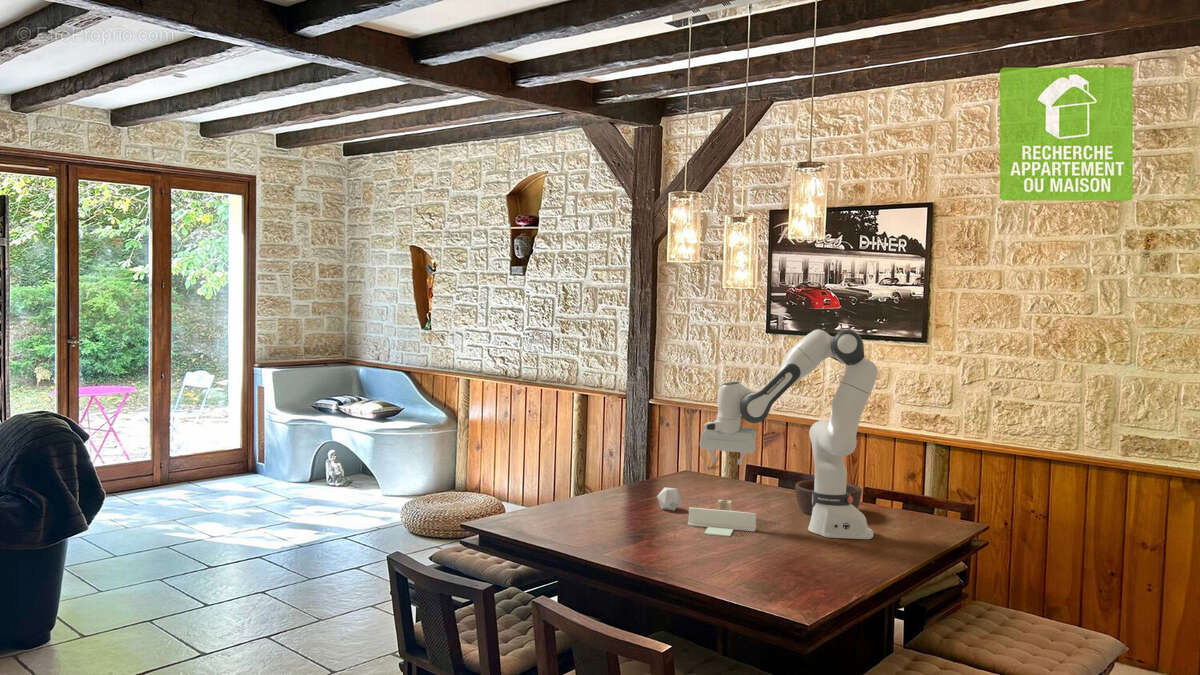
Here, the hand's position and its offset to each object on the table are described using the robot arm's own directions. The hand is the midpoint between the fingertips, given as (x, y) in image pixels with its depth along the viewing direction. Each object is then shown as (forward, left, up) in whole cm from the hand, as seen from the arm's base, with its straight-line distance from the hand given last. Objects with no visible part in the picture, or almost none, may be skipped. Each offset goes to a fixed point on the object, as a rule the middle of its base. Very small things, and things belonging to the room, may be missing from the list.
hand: (726, 463), depth 332 cm
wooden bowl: (-36, -28, -22) cm, 51 cm away
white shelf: (0, +10, -21) cm, 24 cm away
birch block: (0, +3, -22) cm, 22 cm away
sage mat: (0, +17, -21) cm, 27 cm away
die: (+23, -10, -22) cm, 33 cm away
